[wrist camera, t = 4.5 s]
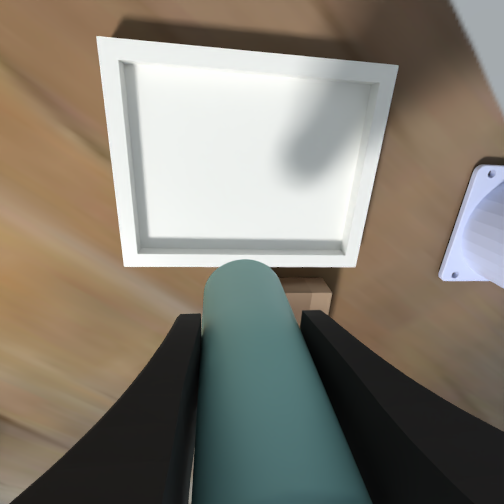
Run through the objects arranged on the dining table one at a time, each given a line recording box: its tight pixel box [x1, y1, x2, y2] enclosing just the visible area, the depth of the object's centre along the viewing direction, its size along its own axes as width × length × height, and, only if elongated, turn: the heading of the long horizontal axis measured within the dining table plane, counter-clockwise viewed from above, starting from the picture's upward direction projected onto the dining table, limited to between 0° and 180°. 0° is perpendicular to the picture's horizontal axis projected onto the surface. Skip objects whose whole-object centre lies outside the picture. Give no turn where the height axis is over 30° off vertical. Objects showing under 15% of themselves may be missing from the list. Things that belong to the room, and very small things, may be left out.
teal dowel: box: [191, 259, 373, 504], centre depth 9 cm, size 3×3×8 cm
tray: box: [96, 36, 399, 267], centre depth 16 cm, size 14×11×1 cm
